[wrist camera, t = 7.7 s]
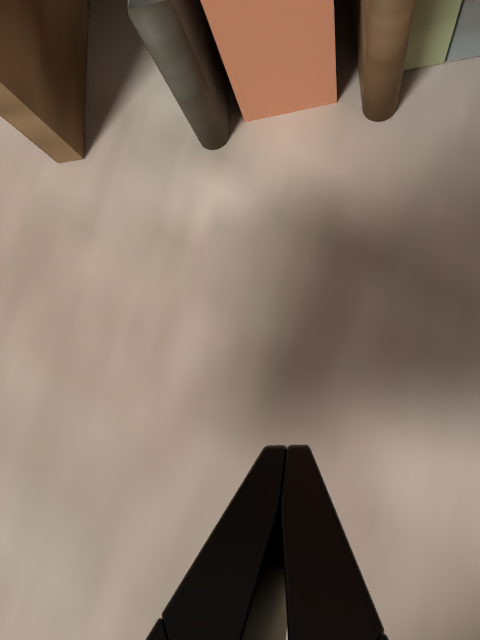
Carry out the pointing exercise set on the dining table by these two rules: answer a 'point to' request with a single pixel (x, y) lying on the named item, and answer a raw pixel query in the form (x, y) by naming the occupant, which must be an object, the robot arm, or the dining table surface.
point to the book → (276, 53)
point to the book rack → (201, 60)
